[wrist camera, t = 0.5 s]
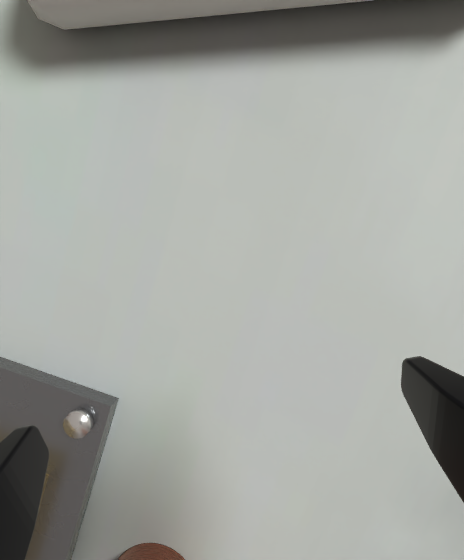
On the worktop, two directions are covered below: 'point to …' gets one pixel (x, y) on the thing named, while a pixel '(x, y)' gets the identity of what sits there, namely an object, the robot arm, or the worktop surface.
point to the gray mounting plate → (57, 448)
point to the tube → (152, 10)
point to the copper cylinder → (150, 553)
